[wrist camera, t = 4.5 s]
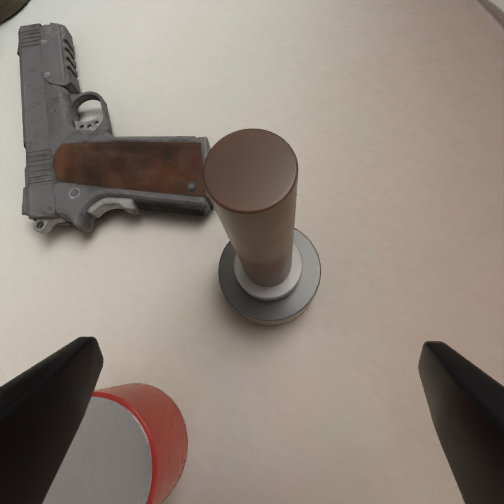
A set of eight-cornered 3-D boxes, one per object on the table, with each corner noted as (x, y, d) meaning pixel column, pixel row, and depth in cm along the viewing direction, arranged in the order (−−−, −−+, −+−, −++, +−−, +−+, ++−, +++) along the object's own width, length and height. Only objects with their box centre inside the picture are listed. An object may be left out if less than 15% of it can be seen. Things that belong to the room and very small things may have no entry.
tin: (196, 500, 19) (165, 551, 14) (78, 525, 19) (7, 584, 14) (179, 372, 21) (147, 378, 16) (73, 396, 21) (10, 408, 16)
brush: (327, 314, 21) (398, 246, 8) (236, 334, 21) (154, 302, 8) (303, 229, 23) (328, 57, 10) (219, 248, 23) (130, 106, 10)
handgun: (161, -23, 29) (4, 22, 28) (223, 196, 21) (13, 258, 21) (171, 9, 31) (27, 51, 31) (229, 214, 24) (42, 269, 24)
